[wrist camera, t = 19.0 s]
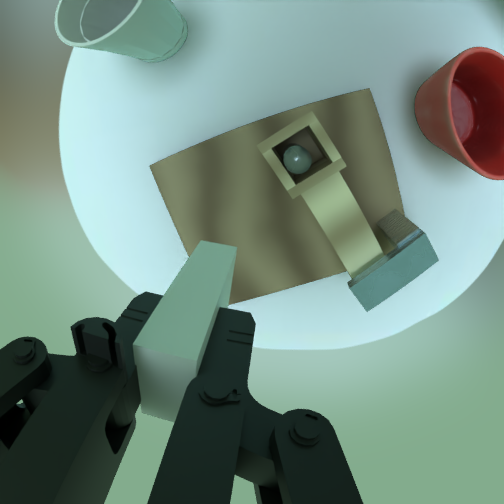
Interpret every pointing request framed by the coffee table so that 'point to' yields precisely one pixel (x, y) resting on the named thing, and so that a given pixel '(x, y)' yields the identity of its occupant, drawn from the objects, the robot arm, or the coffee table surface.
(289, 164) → the pin
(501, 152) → the flower pot
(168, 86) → the coffee table surface
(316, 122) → the link
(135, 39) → the cup
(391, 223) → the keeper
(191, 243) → the board
